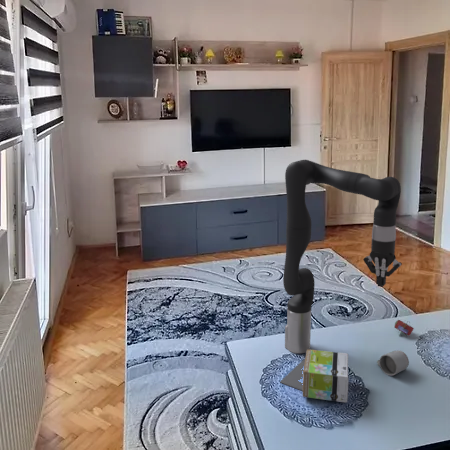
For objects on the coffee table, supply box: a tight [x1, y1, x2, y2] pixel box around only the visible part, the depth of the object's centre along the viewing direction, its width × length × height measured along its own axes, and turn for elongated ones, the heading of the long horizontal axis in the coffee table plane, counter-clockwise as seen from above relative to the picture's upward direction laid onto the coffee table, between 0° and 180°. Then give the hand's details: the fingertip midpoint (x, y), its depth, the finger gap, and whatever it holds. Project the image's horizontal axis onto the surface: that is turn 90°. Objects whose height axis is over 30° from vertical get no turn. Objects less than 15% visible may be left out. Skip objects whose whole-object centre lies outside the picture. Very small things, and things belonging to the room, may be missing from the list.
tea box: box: [302, 349, 349, 403], centre depth 168 cm, size 15×10×15 cm
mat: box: [279, 358, 305, 392], centre depth 178 cm, size 14×20×1 cm
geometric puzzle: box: [393, 319, 415, 337], centre depth 204 cm, size 7×7×8 cm
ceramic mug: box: [376, 350, 410, 377], centre depth 180 cm, size 11×8×8 cm
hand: (380, 285), depth 168 cm, fingers closed
